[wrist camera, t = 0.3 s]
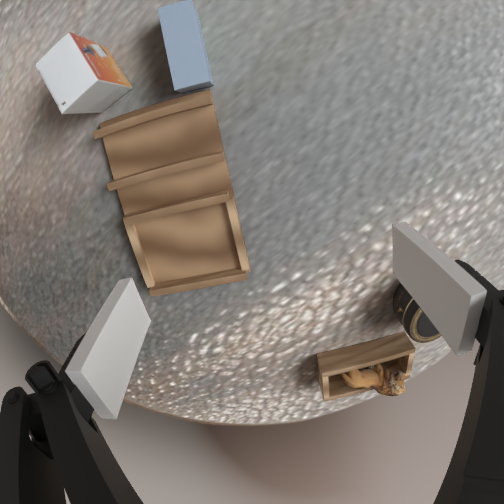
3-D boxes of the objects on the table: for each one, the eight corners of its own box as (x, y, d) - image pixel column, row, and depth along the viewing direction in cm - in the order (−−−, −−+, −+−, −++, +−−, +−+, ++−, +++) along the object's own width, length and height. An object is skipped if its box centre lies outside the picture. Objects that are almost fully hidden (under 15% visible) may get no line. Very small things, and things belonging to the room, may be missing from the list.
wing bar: (182, 93, 35) (174, 90, 30) (167, 19, 30) (157, 8, 26) (213, 85, 34) (209, 81, 30) (197, 11, 30) (191, -2, 25)
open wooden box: (316, 353, 52) (322, 373, 48) (404, 331, 51) (415, 348, 47) (319, 382, 55) (324, 401, 51) (400, 361, 54) (409, 378, 50)
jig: (102, 123, 35) (91, 124, 32) (210, 90, 35) (207, 87, 31) (153, 286, 46) (147, 299, 42) (250, 268, 45) (251, 280, 42)
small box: (134, 88, 34) (100, 81, 24) (101, 113, 35) (61, 116, 25) (106, 46, 31) (69, 29, 21) (76, 72, 32) (33, 65, 22)
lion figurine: (396, 349, 53) (414, 382, 45) (386, 369, 55) (401, 402, 47) (327, 348, 51) (338, 386, 43) (318, 370, 54) (328, 407, 45)
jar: (393, 272, 46) (414, 297, 39) (442, 263, 46) (466, 286, 39) (386, 322, 50) (403, 350, 43) (433, 311, 50) (452, 336, 43)
